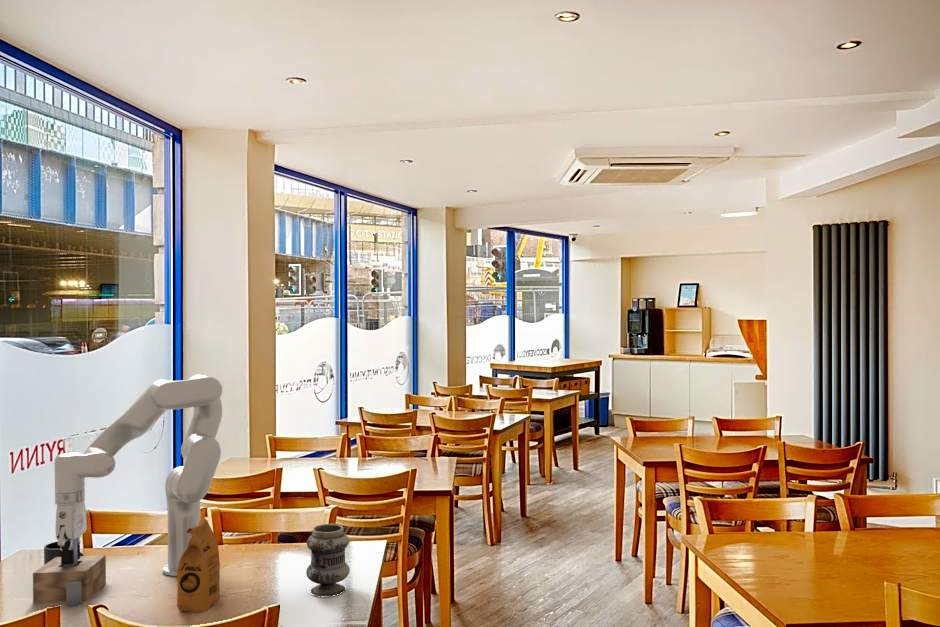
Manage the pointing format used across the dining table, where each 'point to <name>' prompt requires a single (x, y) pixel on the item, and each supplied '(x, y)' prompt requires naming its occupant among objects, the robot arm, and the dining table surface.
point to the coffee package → (199, 571)
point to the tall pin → (74, 546)
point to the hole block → (68, 578)
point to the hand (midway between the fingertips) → (70, 561)
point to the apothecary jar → (327, 559)
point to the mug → (52, 552)
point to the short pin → (73, 593)
